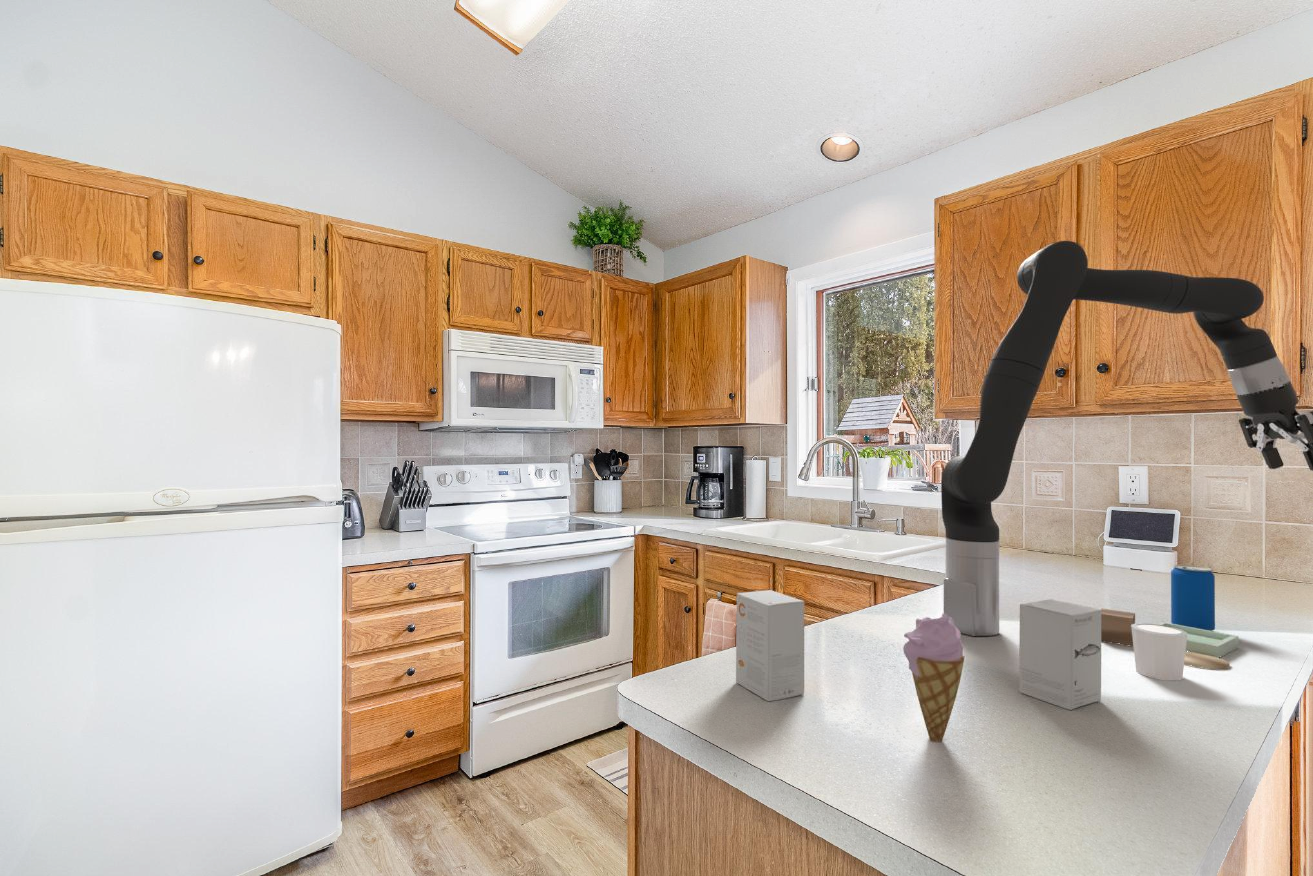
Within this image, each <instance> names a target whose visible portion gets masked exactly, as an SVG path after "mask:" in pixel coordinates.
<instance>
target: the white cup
mask: <svg viewBox="0 0 1313 876" xmlns="http://www.w3.org/2000/svg"><path fill="white" fill-rule="evenodd" d="M1156 624H1157V623H1145V622H1144V623H1143V622H1142V623H1135V624H1132V625H1131V629H1132V638H1133V647H1132V648H1133V653H1134V654H1133V655H1134V663H1135V672H1136V673H1138V674H1139V675H1141V674H1142V676H1145V677H1147V676H1148V677H1147V678H1150V677H1151V678H1152V679H1154V678H1155V680H1162V681H1167V680H1180V681H1181V679H1182V680H1183V675H1184V667H1185V665H1184V660H1185V651H1186V642H1187V632H1185V631H1183V630H1180V629H1177V628H1173V627H1168V626H1163V625H1156Z"/></svg>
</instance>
